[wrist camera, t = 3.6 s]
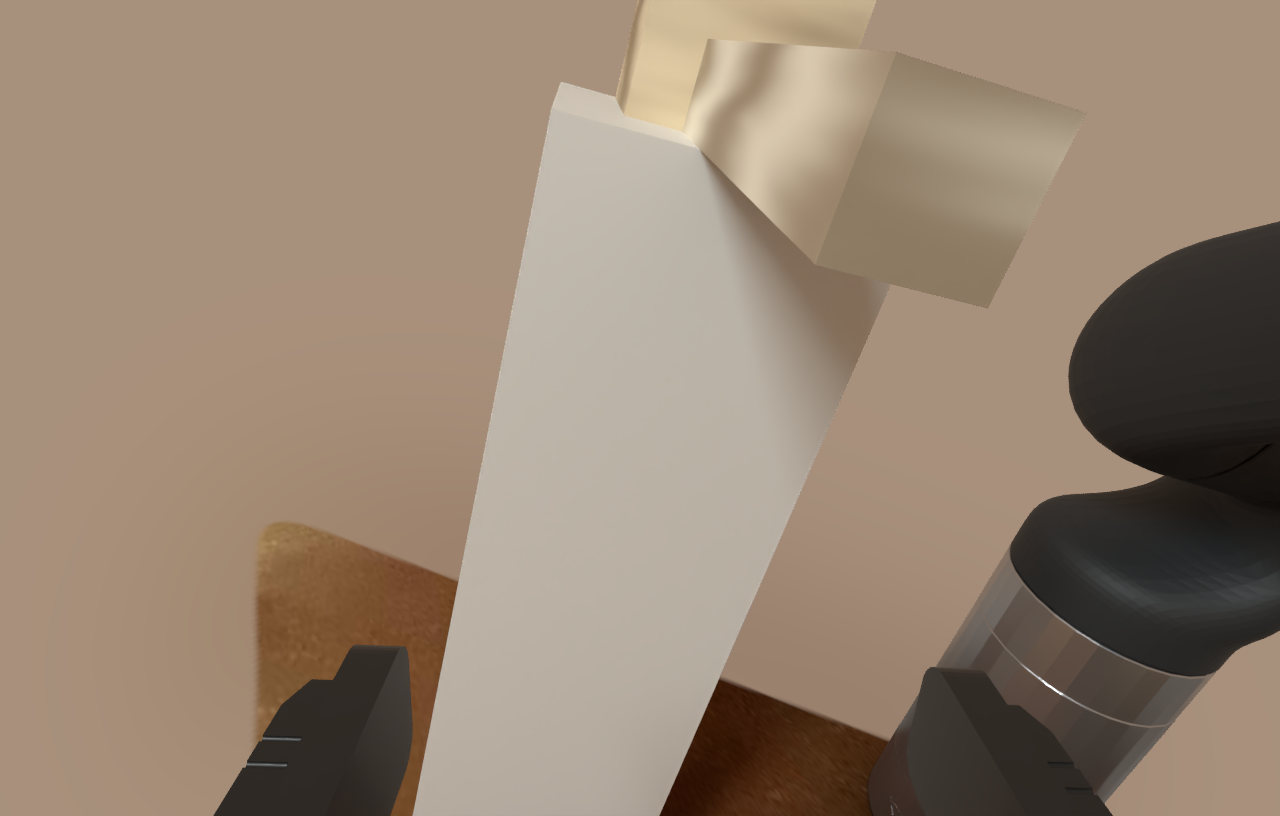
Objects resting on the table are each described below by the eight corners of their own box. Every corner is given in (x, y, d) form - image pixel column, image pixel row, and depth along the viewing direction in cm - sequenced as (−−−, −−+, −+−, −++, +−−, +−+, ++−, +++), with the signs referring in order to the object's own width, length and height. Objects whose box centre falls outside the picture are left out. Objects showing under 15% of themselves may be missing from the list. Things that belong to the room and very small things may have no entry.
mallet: (615, 97, 26) (659, -96, 23) (769, 141, 27) (829, -39, 24) (683, 232, 9) (882, -445, 6) (1098, 336, 10) (1415, -200, 7)
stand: (439, 692, 40) (561, 81, 26) (614, 714, 42) (814, 153, 28) (399, 881, 31) (551, 108, 17) (623, 897, 33) (923, 210, 19)
